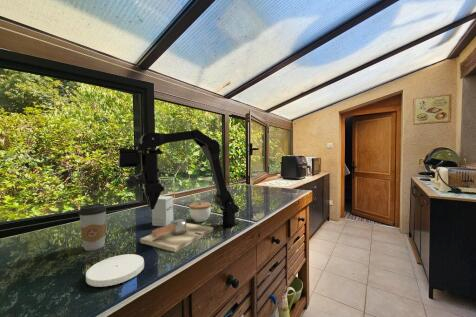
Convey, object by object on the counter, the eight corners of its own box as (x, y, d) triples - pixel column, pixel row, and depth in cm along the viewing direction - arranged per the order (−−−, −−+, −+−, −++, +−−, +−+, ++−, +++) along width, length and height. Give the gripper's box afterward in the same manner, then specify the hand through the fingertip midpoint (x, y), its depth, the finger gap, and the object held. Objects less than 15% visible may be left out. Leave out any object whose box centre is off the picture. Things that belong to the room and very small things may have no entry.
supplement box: (166, 226, 99) (165, 199, 99) (151, 225, 101) (150, 198, 100) (174, 221, 106) (173, 196, 106) (160, 220, 108) (159, 195, 108)
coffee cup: (78, 254, 73) (76, 210, 72) (82, 245, 80) (80, 205, 80) (106, 248, 77) (105, 206, 76) (108, 240, 84) (107, 202, 84)
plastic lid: (110, 296, 51) (110, 285, 51) (73, 283, 56) (73, 274, 56) (154, 266, 64) (154, 258, 64) (121, 259, 69) (121, 251, 69)
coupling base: (181, 225, 100) (181, 221, 100) (214, 231, 91) (214, 227, 91) (140, 242, 81) (140, 238, 81) (176, 252, 72) (175, 247, 72)
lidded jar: (193, 216, 114) (193, 199, 114) (213, 217, 112) (213, 199, 112) (186, 223, 103) (185, 203, 103) (207, 223, 102) (207, 203, 101)
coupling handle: (178, 228, 90) (178, 218, 90) (189, 230, 88) (189, 220, 87) (148, 241, 77) (148, 230, 77) (160, 244, 74) (159, 232, 74)
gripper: (124, 166, 85) (125, 206, 85) (127, 168, 69) (129, 217, 69) (154, 165, 90) (155, 202, 91) (163, 167, 74) (165, 212, 75)
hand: (151, 208), depth 81 cm, fingers open, 4 cm apart
